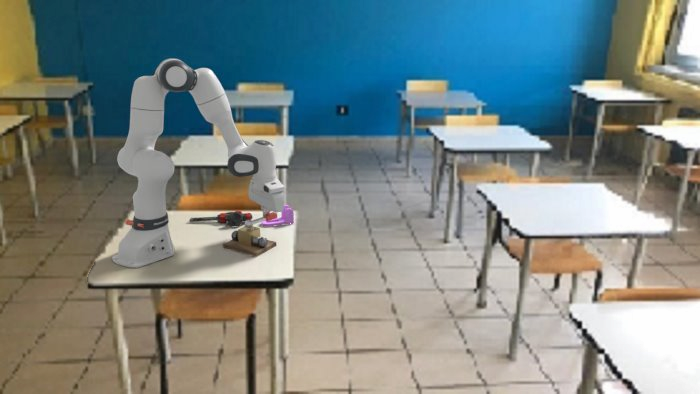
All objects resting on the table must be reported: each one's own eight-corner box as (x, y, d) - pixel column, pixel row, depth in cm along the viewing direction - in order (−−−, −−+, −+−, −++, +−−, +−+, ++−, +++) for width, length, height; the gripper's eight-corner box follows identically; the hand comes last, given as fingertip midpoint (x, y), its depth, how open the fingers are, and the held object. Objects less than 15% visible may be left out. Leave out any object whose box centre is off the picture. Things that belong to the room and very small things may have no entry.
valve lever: (248, 228, 224) (247, 223, 224) (243, 226, 226) (243, 221, 226) (277, 218, 234) (277, 213, 234) (272, 216, 236) (272, 211, 236)
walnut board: (256, 257, 220) (256, 253, 220) (222, 247, 228) (222, 244, 227) (276, 245, 230) (276, 242, 230) (243, 237, 238) (243, 233, 237)
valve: (256, 219, 263) (251, 227, 248) (196, 221, 263) (187, 229, 248) (255, 204, 262) (249, 211, 247) (195, 207, 261) (186, 214, 247)
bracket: (290, 219, 257) (289, 204, 255) (293, 224, 252) (293, 208, 250) (260, 223, 253) (259, 207, 250) (263, 228, 248) (262, 212, 245)
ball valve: (260, 250, 223) (260, 233, 221) (229, 242, 230) (228, 225, 228) (270, 245, 227) (269, 228, 225) (239, 237, 234) (238, 221, 232)
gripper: (243, 177, 236) (245, 211, 240) (272, 190, 221) (273, 226, 226) (257, 174, 240) (259, 207, 244) (287, 187, 225) (287, 222, 229)
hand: (266, 216), depth 235 cm, fingers closed
